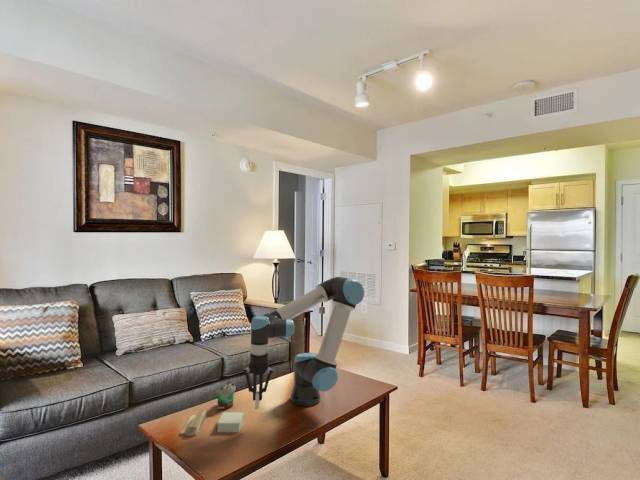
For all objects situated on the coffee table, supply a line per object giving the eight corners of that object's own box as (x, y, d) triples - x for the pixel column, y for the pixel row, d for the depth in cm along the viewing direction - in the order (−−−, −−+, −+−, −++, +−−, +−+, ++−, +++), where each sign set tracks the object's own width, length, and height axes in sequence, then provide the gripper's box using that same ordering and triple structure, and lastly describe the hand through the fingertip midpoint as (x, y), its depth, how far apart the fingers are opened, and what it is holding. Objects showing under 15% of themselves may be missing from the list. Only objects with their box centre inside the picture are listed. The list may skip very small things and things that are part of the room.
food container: (228, 413, 177) (229, 391, 177) (216, 411, 178) (216, 390, 178) (239, 401, 189) (239, 381, 189) (227, 400, 190) (228, 380, 190)
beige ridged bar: (206, 417, 172) (206, 409, 172) (196, 435, 156) (196, 427, 156) (191, 417, 172) (192, 409, 172) (180, 435, 156) (180, 426, 156)
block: (243, 421, 170) (243, 412, 170) (239, 432, 160) (239, 423, 160) (223, 421, 169) (223, 412, 169) (217, 432, 159) (217, 423, 159)
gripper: (274, 350, 169) (273, 404, 169) (245, 350, 168) (243, 403, 168) (273, 355, 161) (271, 411, 161) (242, 355, 161) (240, 411, 161)
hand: (257, 407), depth 165 cm, fingers closed
